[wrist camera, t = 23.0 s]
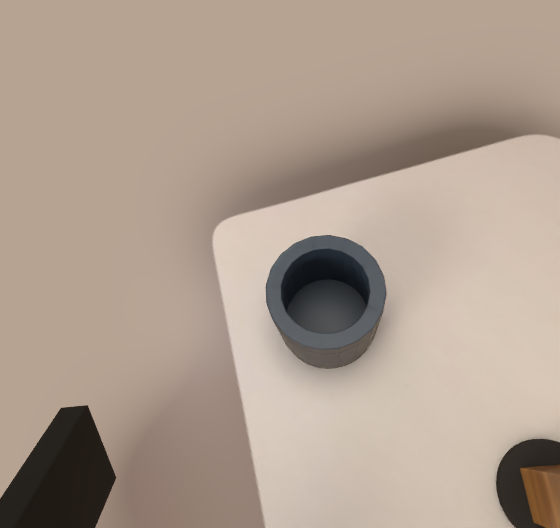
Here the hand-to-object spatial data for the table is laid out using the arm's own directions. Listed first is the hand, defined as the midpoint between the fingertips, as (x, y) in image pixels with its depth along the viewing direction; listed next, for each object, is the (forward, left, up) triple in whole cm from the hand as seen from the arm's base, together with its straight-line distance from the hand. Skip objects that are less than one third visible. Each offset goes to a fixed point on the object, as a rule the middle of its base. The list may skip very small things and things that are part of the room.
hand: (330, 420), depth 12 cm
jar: (-10, +3, -31) cm, 32 cm away
